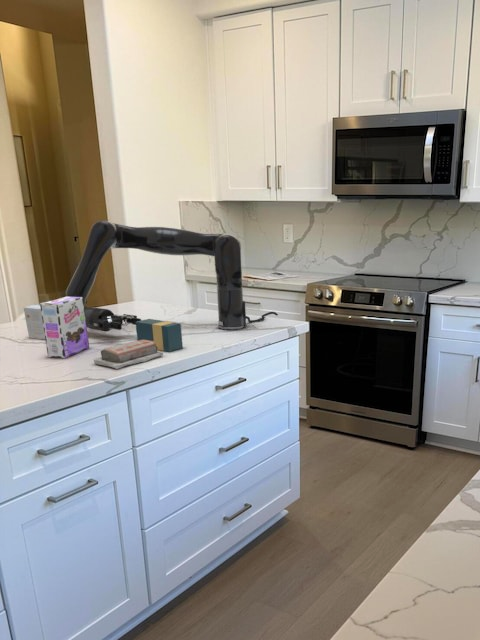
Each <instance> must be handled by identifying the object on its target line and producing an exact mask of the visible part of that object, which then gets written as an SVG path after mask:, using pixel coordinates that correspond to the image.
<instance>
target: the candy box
mask: <svg viewBox="0 0 480 640" xmlns="http://www.w3.org/2000/svg"><path fill="white" fill-rule="evenodd" d="M39 305H40V307H41V314H42V320H43V327H44V334H45V346H46V352H47V357H48V358H56V359H57V358H58V359H66V358H68V357H71V356H74V355H76V354H79V353H81V352H83V351H86V350H88V349H90V344H89V336H88V328H87V327H86V320H85V313H84V305H83V298H82V297H68V296H64V297H60V298H57V299H53V300H48V301H45V302H44V301H43V302H40V303H39Z"/></svg>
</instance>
